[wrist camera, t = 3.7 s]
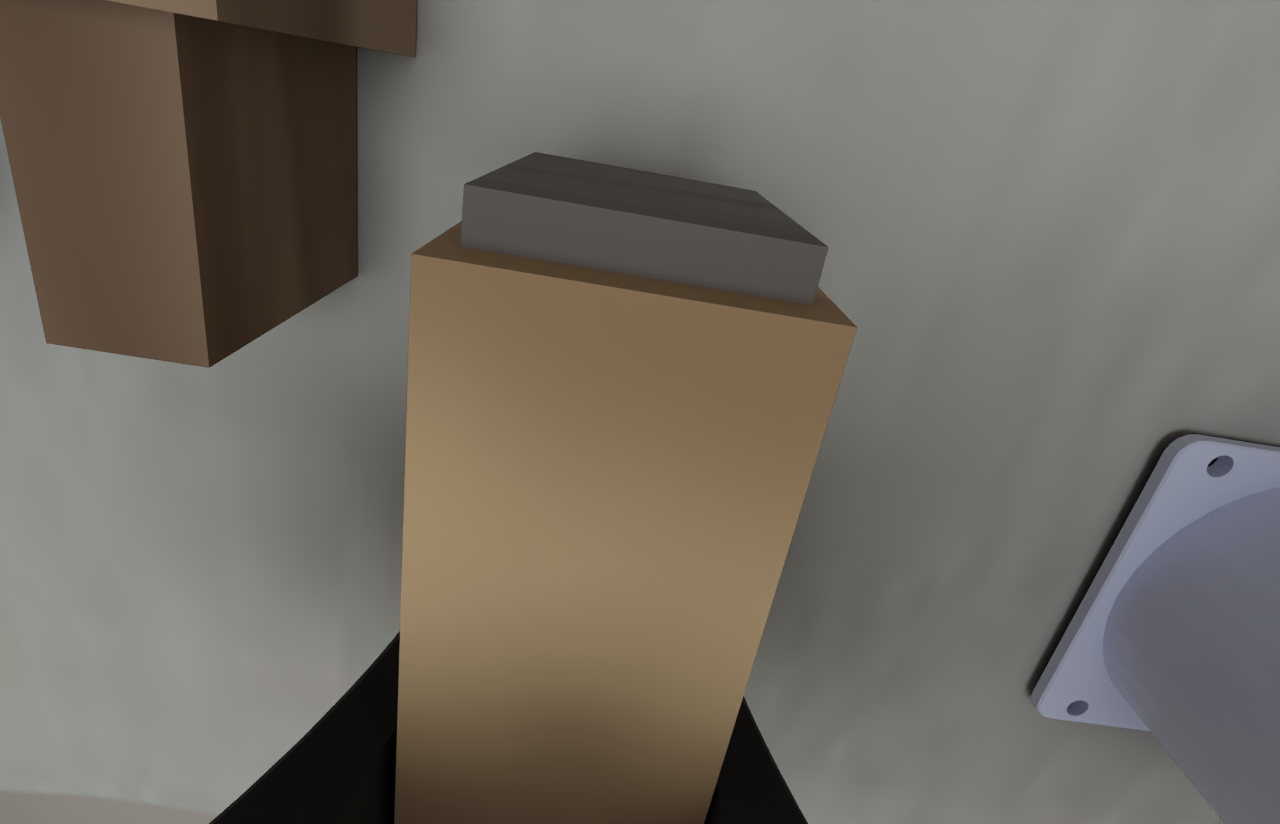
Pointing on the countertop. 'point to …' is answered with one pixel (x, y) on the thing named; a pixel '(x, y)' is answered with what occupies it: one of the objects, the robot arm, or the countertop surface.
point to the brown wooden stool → (186, 162)
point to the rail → (599, 488)
